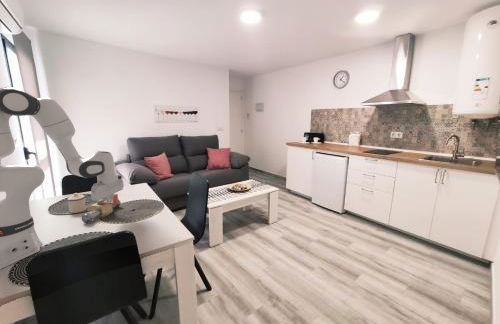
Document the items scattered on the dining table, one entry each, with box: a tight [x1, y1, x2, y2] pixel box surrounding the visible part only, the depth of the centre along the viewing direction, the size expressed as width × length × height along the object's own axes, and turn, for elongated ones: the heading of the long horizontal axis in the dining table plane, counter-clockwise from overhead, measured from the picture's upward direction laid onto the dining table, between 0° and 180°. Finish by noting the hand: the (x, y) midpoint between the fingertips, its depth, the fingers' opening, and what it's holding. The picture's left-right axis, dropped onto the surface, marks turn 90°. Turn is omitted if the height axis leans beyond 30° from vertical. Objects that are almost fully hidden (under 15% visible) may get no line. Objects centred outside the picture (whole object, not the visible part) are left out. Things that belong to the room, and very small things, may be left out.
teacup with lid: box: [66, 192, 87, 214], centre depth 140 cm, size 12×9×12 cm
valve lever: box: [96, 193, 120, 205], centre depth 131 cm, size 13×4×6 cm, turn 83°
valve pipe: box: [81, 199, 122, 224], centre depth 134 cm, size 24×7×8 cm, turn 173°
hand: (110, 202), depth 126 cm, fingers closed
